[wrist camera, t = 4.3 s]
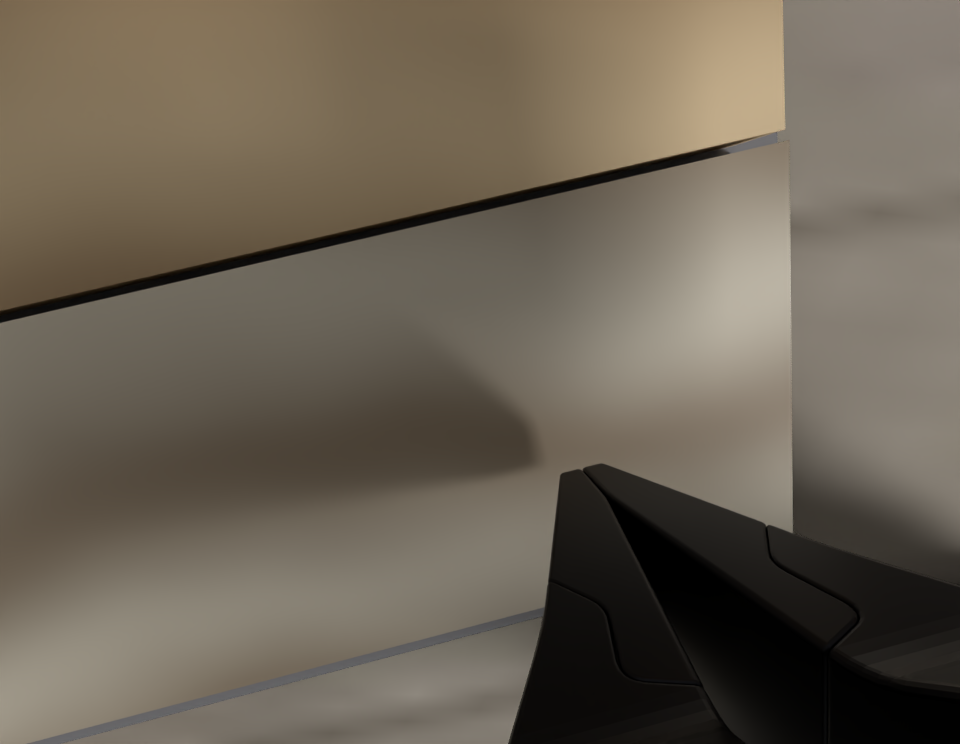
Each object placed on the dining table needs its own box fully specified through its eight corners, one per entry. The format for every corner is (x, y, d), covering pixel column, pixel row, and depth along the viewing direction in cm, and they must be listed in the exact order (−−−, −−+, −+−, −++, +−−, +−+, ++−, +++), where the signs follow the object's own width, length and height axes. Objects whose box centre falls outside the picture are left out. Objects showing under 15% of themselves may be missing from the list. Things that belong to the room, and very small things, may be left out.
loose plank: (751, 506, 12) (793, 541, 11) (18, 696, 12) (-40, 761, 10) (736, 153, 10) (789, 140, 8) (-219, 375, 9) (-341, 402, 8)
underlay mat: (762, 530, 14) (787, 551, 13) (45, 718, 13) (15, 755, 12) (711, -664, 7) (754, -801, 6) (-748, -417, 6) (-955, -532, 6)
